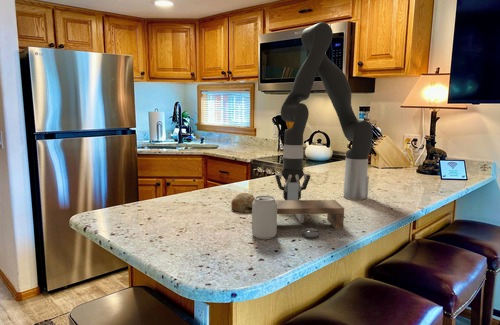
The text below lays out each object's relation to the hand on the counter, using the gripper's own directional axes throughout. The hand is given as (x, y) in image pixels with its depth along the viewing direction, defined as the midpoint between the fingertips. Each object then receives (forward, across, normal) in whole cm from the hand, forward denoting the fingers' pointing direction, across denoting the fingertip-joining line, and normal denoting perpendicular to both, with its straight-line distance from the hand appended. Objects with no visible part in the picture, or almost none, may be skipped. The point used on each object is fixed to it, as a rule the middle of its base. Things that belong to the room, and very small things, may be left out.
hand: (291, 200), depth 142 cm
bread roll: (+3, +19, +1) cm, 19 cm away
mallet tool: (+3, 0, +8) cm, 9 cm away
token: (+3, 0, +32) cm, 32 cm away
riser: (+3, 0, +21) cm, 21 cm away
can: (+3, +14, +31) cm, 34 cm away
